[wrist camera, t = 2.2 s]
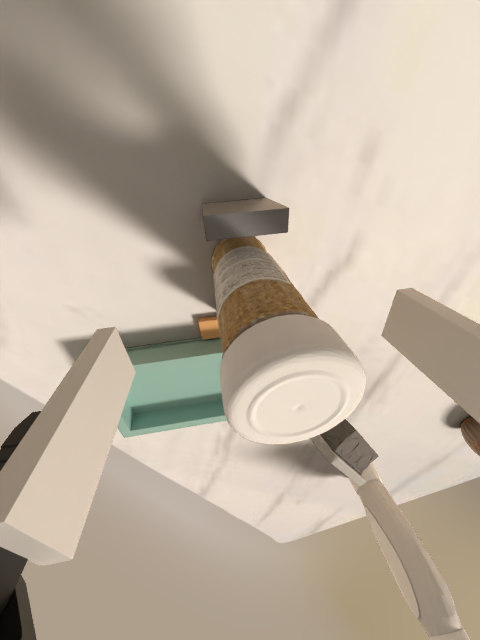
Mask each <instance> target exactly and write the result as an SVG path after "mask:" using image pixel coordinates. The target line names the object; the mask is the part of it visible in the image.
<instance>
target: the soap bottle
mask: <svg viewBox="0 0 480 640" xmlns="http://www.w3.org/2000/svg"><path fill="white" fill-rule="evenodd" d="M361 476H362V477H363V478H364V479H365V480H366V481H367V482H366V483H364V484H363V485H362V486H359V485H358V484H356V483H355V482H354V481H353V480H351V479H350V478H349V477H348V478H349V480H350V482H351V484H352V485H353V487H354V489H355V491H356V492H357V494H358V495H359V496H360V498H361V501H362V503H363V505H364V508H365V512H366V515H367V518H368V520H369V523H370V526H371V528H372V530H373V533H374V535H375V537H376V539H377V542H378V544H379V546H380V548H381V550H382V553H383V555H384V557H385V559H386V561H387V564H388V566H389V568H390V570H391V572H392V574H393V576H394V578H395V580H396V582H397V585H398V587H399V589H400V591H401V593H402V595H403V597H404V599H405V600H406V602H407V604H408V606H409V607H410V609H411V611H412V612H413V614H414V615H415V616H416V617H417V618H418V620H419V622H420V623H421V625H422V626H423V628H424V629H425V631H426V633H427V634H428V636H429V639H430V640H470V638H469V637H468V635H467V633H466V631H465V630H464V628H463V627H462V624H461V622H460V620H459V617H458V615H457V613H456V609H455V606H454V601H453V598H452V596H451V593H450V591H449V589H448V587H447V585H446V583H445V581H444V579H443V577H442V575H441V573H440V571H439V569H438V568H437V566H436V564H435V562H434V561H433V559H432V557H431V555H430V554H429V552H428V550H427V549H426V547H425V545H424V544H423V542H422V541H421V539H420V537H419V536H418V534H417V533H416V531H415V530H414V528H413V527H412V525H411V524H410V522H409V521H408V519H407V518H406V517H405V515H404V514H403V512H402V511H401V509H400V508H399V507H398V505H397V504H396V503H395V501H394V500H393V498H392V497H391V496H390V494H389V493H388V491H387V490H386V488H385V487H384V485H383V484H382V480H381V477H380V475H379V473H378V471H377V469H376V467H375V465H374V463H373V462H371V463H370V464H369V466H368V468H366V469H365V470H364V471H363V473H362V475H361Z"/></svg>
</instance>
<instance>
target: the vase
mask: <svg viewBox="0 0 480 640" xmlns="http://www.w3.org/2000/svg"><path fill="white" fill-rule="evenodd" d="M461 432H462V435H463V437H464V439H465V441H466V442H467V444H468V445H469V446H470V447H471V449H472V450H473V451H474V452H475V453H476V454H478V455H479V456H480V423H479V422H477V421H476V420H475V419H474V418H473V417H472V416H470V417H469V418H467V419H466V420H464V421H463V422H462V424H461Z"/></svg>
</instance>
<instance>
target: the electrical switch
mask: <svg viewBox="0 0 480 640" xmlns="http://www.w3.org/2000/svg"><path fill="white" fill-rule="evenodd" d="M354 429H355V428H354V427H353V426H352V425H351V424H350V423H349V422H348V421H347V420H346V419H344V420H343V421H342V422H340V423H339V424H337V425H336V426H335V427H333V428H331V429H330V430H328V431H326V432H324V433H322V434H320V435H317V436H315V437H312V438H310V439H311V440H312V442H313V443H314V444H315V446H316V447H317V448H318V449H319V451H320V452H321V453H322V454H323V455H324V456H325V457H326V459H327V460H328V461H329V462H330V463H331V464H332V465H334V466H335V467H336V468H337V469H339V470H340V471H341V472H342V473H344V474H345V475H346V476H347V477H349V478H350V479H351V480H353V481H354V482H355V483H356V484H358V485H359V486H362V485H363V484H364V483H366V482H367V481H366V480H365V479H364V478H363V477H362V476H361V475H362V473H363V471H364V470H365V469H366V468H368V466H369V464H370V463H371V462H372V461H374V460H375V459H376V458H377V457H378V455H377V454H376V453H375V451H374V450H373V449H372V448H371V447H370V446H369V444H368V443H367V442H366V441H365V440H364V439H363V437H362V436H361V435H360V434H359V433H358V432H357V430H356V429H355V430H354ZM353 430H354V431H353Z"/></svg>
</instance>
